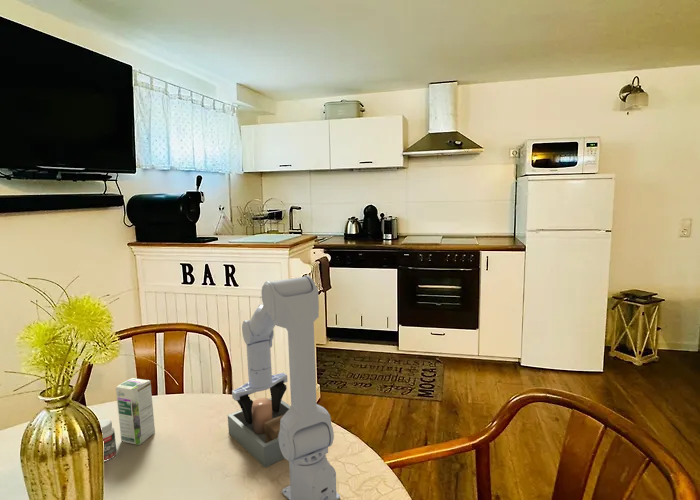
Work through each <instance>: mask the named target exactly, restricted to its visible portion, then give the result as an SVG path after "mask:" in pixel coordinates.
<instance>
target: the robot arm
mask: <svg viewBox="0 0 700 500" xmlns="http://www.w3.org/2000/svg"><path fill="white" fill-rule="evenodd" d="M261 301H262V304H258V306H257V308H256V309H255V311H254V312H253V314H252V316H251V318H250V320H247V319H245V320H243V321H242V323H241V324H242V325H241V332H242V333H241V334H242V338H243V341H244V344H246V345H245V346H246V357H247V359H246V360H247V375H248V381H247V382H246V383H243V384H242V385H240V386H239V387H237V388H235V389H233V390H231V397H232V399H233V400H234V401H236V402H237V403H238V405H239V406H240V408H241V409H240V410H242V411H243V414H244V417H245V420H246V422H247V423H248V424H252V404H253V401H254V400H253V399H251V396H250V395H252V394H255V393H257V392H263V391H267V390H269V392H270V398H271V401H272V410H273V411H275V412H276V413H278V412H279V408H280V403H281V400H282V399H283V396H284V394H285V393H286V391H287V385H286V384H285V383H287V382H288V381H289V389H290V406H291V407H290V409H289V410H288V411H287V412H286V413H285V414H284V416H283V417H282V418H281V420H280V431H279V435H278V440H279V446H280V450H281V452H282V455H283V457H284V459H286V460H287V461H288V468H289V485H288V486H286V487H284V488H283V489H281V493H282V494H283V495H284V497H286V498H287V499H288V500H340V498H341V496H340V494H339V493H338V492H337V472H336V469H335V468H334V466H333V465H331V463H330V462H329V460H328V458H327V455H326V454H328V453H329V447H331V446H332V445H333V443H334V439H335V434H334V433H335V432H334V429H333V424H332V418H331V414H330V413H329V411H328V410H327V409H326V408H325V407H324V406H322V405H320V404H318V403H317V402H318V401H317V382H316V381H317V380H316V379H317V377H316V376H317V375H316V373H317V372H316V350H315V347H316V346H315V325H314V324H315V321H316V320H317V319H319V317H320V315H319V312H320V306H319V288H318V287H317V285H316V283H315V280H314V279H313V278H312V277H311V276H310V275H304V276H299V277H293V278H286V279H278V280H272V281H271V280H266V281H265V282H264V283H263V284H262V287H261ZM275 327H280V328H282V329H286V331H287V340H288V343H287V344H288V346H287V347H288V361H289V362H288V367H289V380H288V374H287V373H284V372H281V373H276V374H273V373H272V370H273V369H272V352H271V348H272V347H273V339H274V335H275V334H274V328H275ZM282 401H283V400H282Z"/></svg>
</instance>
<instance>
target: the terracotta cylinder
mask: <svg viewBox="0 0 700 500" xmlns="http://www.w3.org/2000/svg"><path fill="white" fill-rule="evenodd" d="M252 401H253V404H252V422H253V432H254V433H256V434H265V425H264V423H265V422H267V421H270V420H272V419H273V418H272V401H271V400H270V398H267V397H261V398H257V399H254V400H252Z"/></svg>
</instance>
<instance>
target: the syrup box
mask: <svg viewBox="0 0 700 500" xmlns="http://www.w3.org/2000/svg"><path fill="white" fill-rule="evenodd" d="M115 392H116V393H115V394H116V403H117V412H118V421H119V432H120V442H121V441H123V442H122V443H128V444H133V445H137V446H140V445H142V444H143V443H144V442H145V441H146V440H148V439H149V438H150V437H152V436H153V435H154V434H155V433H156V428H155V415H154V406H153V405H154V404H153V396H152V384H151V379H150V380H149V379H142V378H135V377H131V378H129V379H127V380H125V381H123V382H121V383H120V384H118V385H117V386H115Z"/></svg>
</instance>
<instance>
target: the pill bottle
mask: <svg viewBox="0 0 700 500" xmlns="http://www.w3.org/2000/svg"><path fill="white" fill-rule="evenodd" d="M98 421H99V422H100V425H101V428H102V433H103V441H104V460H107V459H110V458H112V457H113V456H115V455H116V456H117V454H118V450H117V444H116V443H117V442H116V434H115V428H114V427H113V424H112V423H113V422H112V420H111V419H110V418H103V419H99V420H98ZM116 453H117V454H116ZM116 456H115V457H116ZM113 458H114V457H113ZM113 458H112V459H113ZM110 460H111V459H110Z"/></svg>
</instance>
